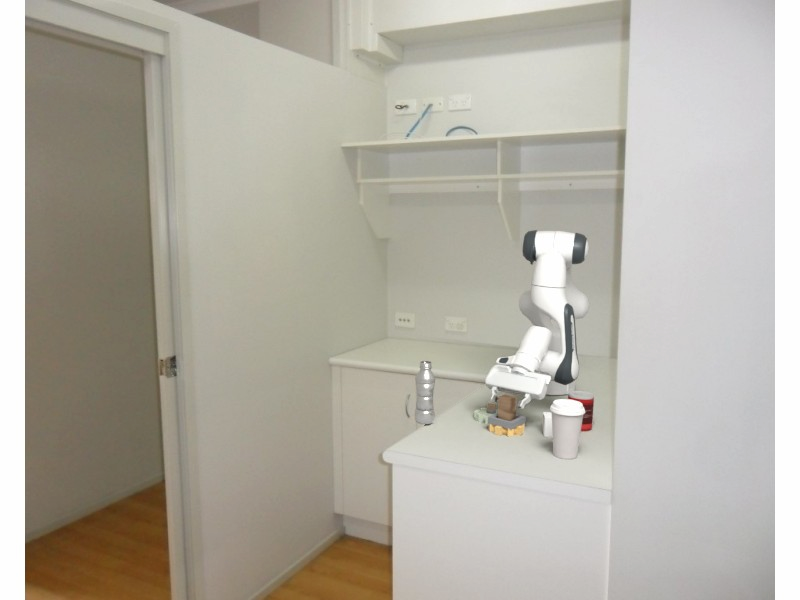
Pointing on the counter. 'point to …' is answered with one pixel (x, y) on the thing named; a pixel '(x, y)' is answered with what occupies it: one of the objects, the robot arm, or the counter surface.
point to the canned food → (588, 404)
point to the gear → (485, 413)
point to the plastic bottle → (425, 394)
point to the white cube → (547, 424)
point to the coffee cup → (566, 427)
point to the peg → (507, 407)
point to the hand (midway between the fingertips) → (506, 404)
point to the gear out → (506, 425)
